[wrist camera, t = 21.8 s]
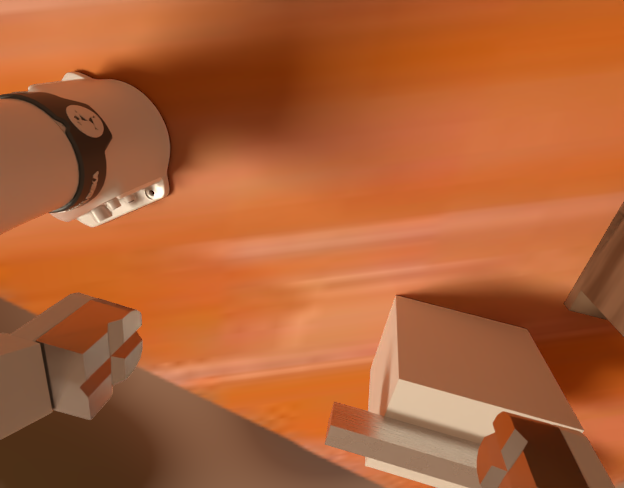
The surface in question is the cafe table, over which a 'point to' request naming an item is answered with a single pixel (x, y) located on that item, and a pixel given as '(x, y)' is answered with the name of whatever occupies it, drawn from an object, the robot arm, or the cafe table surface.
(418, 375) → the cream tilted cube
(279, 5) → the cafe table surface
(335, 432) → the brushed metal block
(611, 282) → the walnut stand
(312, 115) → the cafe table surface
